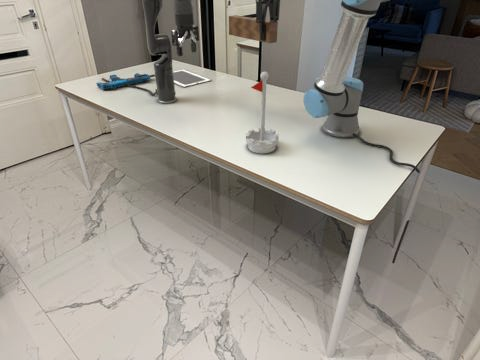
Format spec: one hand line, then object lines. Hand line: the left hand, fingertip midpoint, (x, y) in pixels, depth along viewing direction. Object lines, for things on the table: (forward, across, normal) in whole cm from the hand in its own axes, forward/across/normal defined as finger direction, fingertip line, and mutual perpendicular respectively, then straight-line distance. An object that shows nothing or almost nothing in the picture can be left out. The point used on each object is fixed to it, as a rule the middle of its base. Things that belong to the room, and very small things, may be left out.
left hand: (187, 53), depth 145 cm
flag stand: (+30, +6, +43) cm, 52 cm away
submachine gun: (+30, -20, -73) cm, 81 cm away
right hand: (-4, -27, +23) cm, 36 cm away
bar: (-3, -29, +14) cm, 32 cm away
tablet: (+30, -46, -48) cm, 73 cm away
